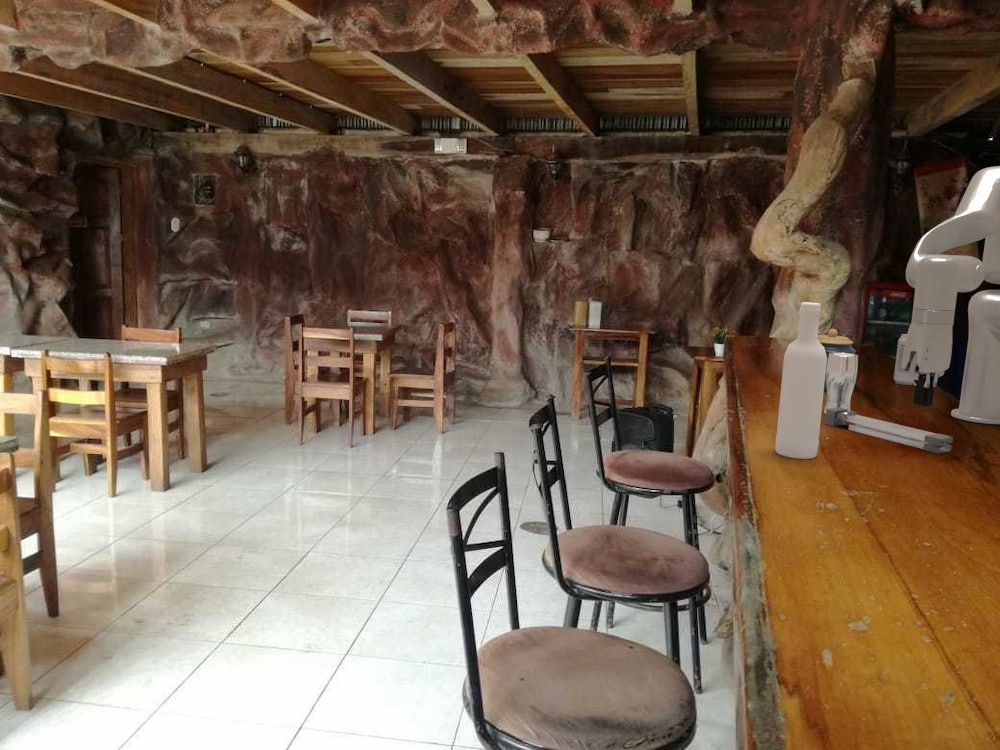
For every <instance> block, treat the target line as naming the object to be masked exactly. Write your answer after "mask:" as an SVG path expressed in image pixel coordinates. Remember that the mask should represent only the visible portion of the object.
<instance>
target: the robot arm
mask: <svg viewBox="0 0 1000 750" xmlns="http://www.w3.org/2000/svg"><path fill="white" fill-rule="evenodd" d="M983 239H985V240H984V249H983V253H982V254H983V255H982V261H981V259H979V258H978V257H975V256H971V255H959V254H958V255H957V254H956V255H955V254H953V255H952V254H942V253H944V252H946V251H948V250H951V249H954V248H957V247H961V246H964V245H969V244H971V243H974V242H978V241H981V240H983ZM906 265H907V266H906V269H905V280H906V282H907V284H908V285H909V286H910V287H911V288H914V298H913V307H912V313H911V314H912V315H911V324H910V325H909V327H908V331H907V333H906V334H907V337H906V341H905V346H904V352H903V358H902V369H903V370H904V371H909V373H908V378H909V379H913V380H914V383H913V386H914V391H913V392H914V394H913V402H912V403H913V404H914V405H918V406H921V407H931V406H933V403H934V395H935V387H936V386H937V385H938V384H937V383H938V379H939V378H940V377H942V376H944V374H945V371H946V370H948V369H949V368H950V364H951V361H952V360H951V359H952V350H953V327H954V322H955V313H956V306H957V305H956V304H957V297H958V293H969V292H972V291H975V290H976V289H978V288H979V287H980V285H981V284H982V283H983V282H984V281H985V282H987V283H990V284H995V285H996V284H997V285H1000V165H998V166H995V165H994V166H989V167H985V168H981V170H978V171H976V173H975V174H974V175H973V176H972V178H971V180H970V181H969V183H968V185H967V188H966V189H965V192H964V195H963V197H962V198H961V201H960V203H959V204H958V207H957V209H956V212H955V214H954V215H953V216H951V217H950V218H948V219H946V220H944V221H942V222H941V223H939V224H937V225H936V226H935V227H933V228H931V229H930V230H929V231H927V232H926V233H925V234H924V235H923V236H921V238H920V239H919V240H918V242H917V243H916V245H915V247H914V249H913V251H912V253H911V255H910V258H909V260H908V262H907V264H906ZM967 312H968V313H967V314H968V340H967V348H966V356H965V362H964V370H963V377H962V384H961V391H960V392H961V393H960V397H959V398H960V400H959V406H958V408H954V409H952V410H951V413H950V416H952V417H953V418H955V419H959V420H962V421H966V422H971V423H977V424H978V423H979V424H986V425H1000V289H985V290H981V291H978V292H976V293H975V294H974V295H972V296H971V297H970V300H969V301H968V308H967Z"/></svg>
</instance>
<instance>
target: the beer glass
mask: <svg viewBox="0 0 1000 750" xmlns="http://www.w3.org/2000/svg"><path fill="white" fill-rule="evenodd" d="M858 360H859V355H858V354H856V353H854V354H850V353H839V352H833V353H829V357H828V362H827V368H826V386H827V392H826V403H825V405H824V406H825V407H824V409H823V414H825V415H826V409H830V408H838V407H839V408H843V409H848V411H851V400H852V399H851V397H852V395H853V391H854V388H855V384H856V382H857V381H856V380H857V376H858V368H859V361H858Z"/></svg>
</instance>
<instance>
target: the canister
mask: <svg viewBox="0 0 1000 750" xmlns="http://www.w3.org/2000/svg"><path fill="white" fill-rule="evenodd" d="M838 333H839V332H838V330H837V329H835V328H830V329H829V330H828V331H827V334H818V337H817V340H818V341H819V342H820V343H821V344H822V346H823V347H824V348H825V352H826V356H827V362H828V357H829V353H833V352H839V353H850V354H856V352H857V351H856V349H854V348H853V344H854V341H853V340H850V339H849V337H847V336H841V335H838ZM826 368H827V364H826ZM824 393H827V386H826V373H825V383H824Z"/></svg>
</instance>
